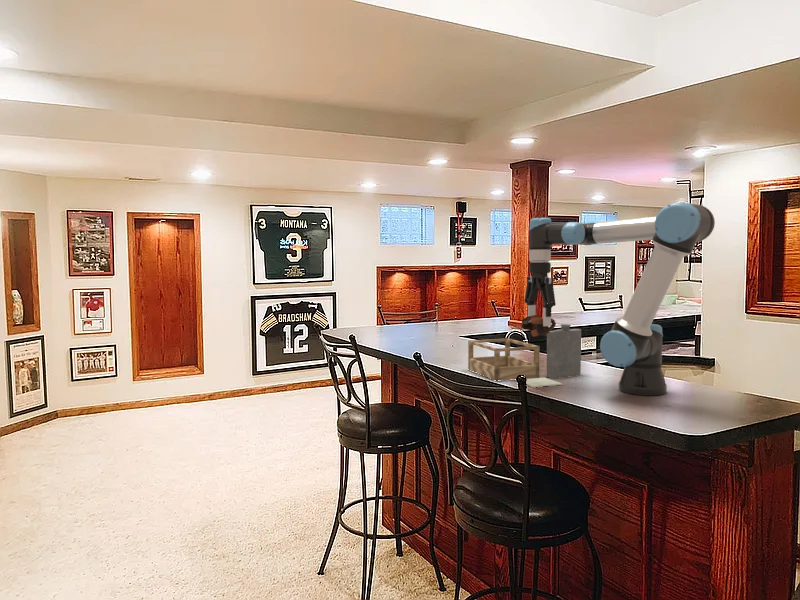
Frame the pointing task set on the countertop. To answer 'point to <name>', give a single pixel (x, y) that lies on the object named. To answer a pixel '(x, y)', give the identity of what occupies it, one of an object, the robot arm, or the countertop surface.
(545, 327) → the pottery mug
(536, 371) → the oak crate
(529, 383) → the sage board
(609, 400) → the countertop surface
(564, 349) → the hip flask
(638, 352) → the robot arm
